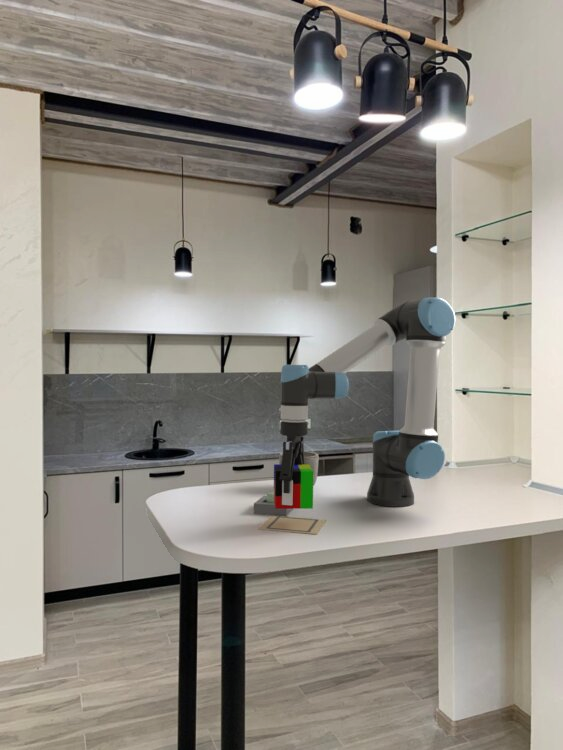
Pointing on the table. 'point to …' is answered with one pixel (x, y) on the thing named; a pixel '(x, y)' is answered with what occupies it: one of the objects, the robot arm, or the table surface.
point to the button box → (269, 508)
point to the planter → (308, 462)
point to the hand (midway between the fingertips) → (292, 499)
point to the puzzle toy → (295, 487)
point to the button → (270, 497)
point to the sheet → (293, 524)
